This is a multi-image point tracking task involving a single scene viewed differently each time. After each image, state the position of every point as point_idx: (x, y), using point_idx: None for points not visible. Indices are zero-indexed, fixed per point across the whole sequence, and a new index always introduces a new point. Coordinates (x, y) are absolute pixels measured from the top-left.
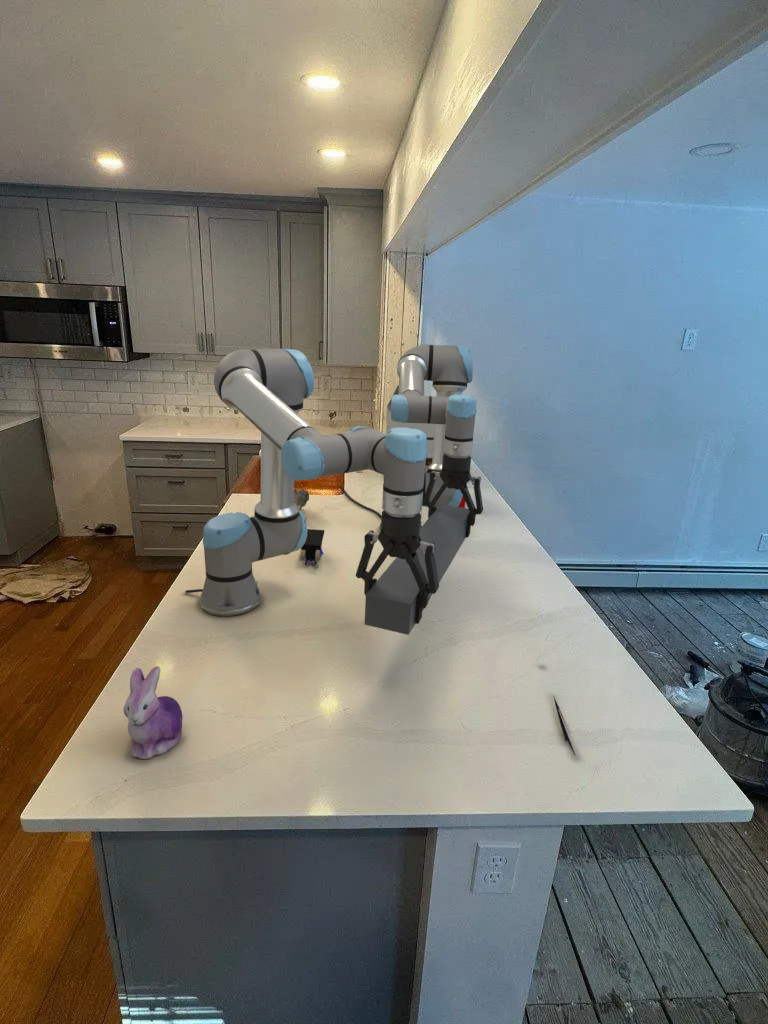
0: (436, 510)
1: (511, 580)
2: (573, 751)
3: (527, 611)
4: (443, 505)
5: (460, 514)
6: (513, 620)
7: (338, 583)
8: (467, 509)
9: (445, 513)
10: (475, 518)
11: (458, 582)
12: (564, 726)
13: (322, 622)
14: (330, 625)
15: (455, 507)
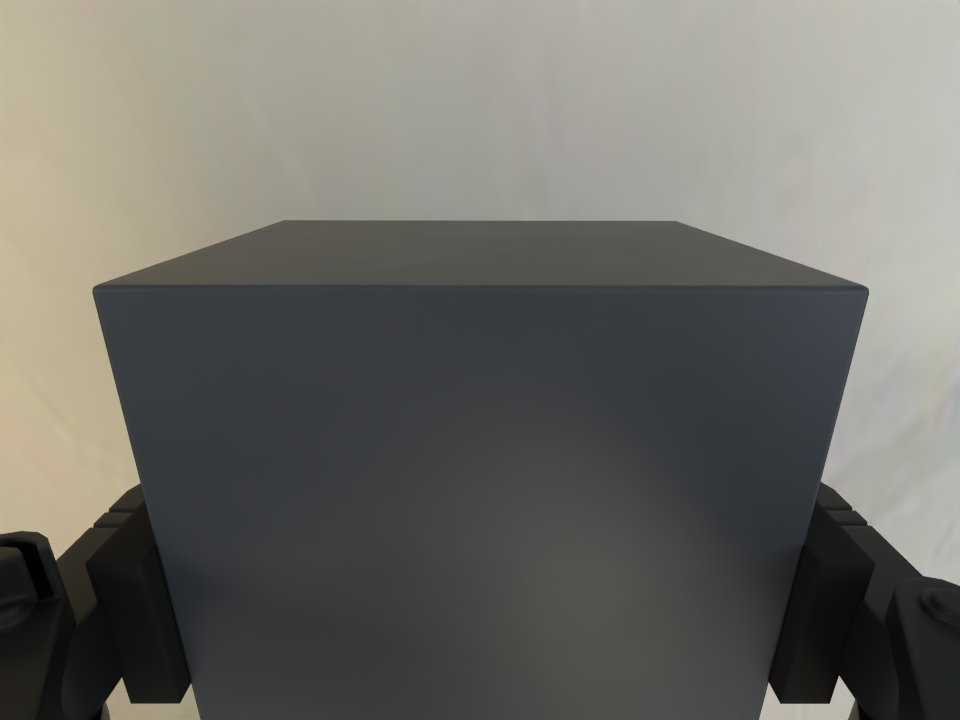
0: (207, 656)
1: (859, 34)
2: None
3: (899, 377)
4: (196, 346)
5: (645, 661)
6: (824, 472)
7: (13, 461)
8: (763, 358)
9: (395, 710)
10: (880, 539)
11: (541, 210)
12: None
13: (163, 707)
14: (196, 712)
15: (483, 351)
